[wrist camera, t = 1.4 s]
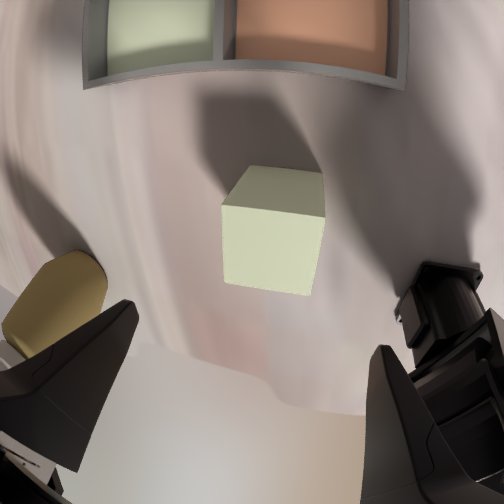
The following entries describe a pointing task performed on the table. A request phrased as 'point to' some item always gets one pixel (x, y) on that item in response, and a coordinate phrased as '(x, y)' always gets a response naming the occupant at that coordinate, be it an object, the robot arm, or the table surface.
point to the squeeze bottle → (52, 306)
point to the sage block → (273, 229)
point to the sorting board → (246, 38)
